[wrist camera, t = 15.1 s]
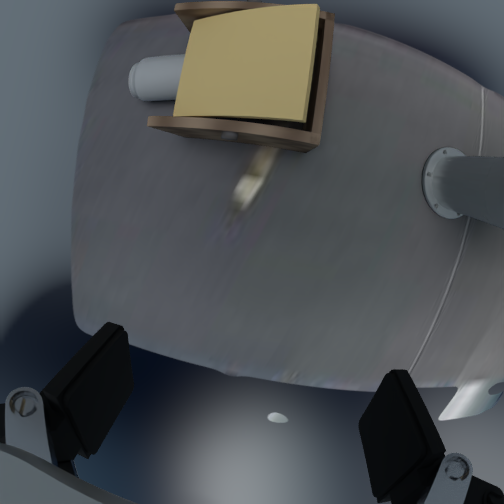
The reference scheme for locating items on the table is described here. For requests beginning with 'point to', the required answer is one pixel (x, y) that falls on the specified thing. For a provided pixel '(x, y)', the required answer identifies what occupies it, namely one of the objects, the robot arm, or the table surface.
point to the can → (156, 77)
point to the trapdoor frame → (248, 130)
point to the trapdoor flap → (250, 64)
